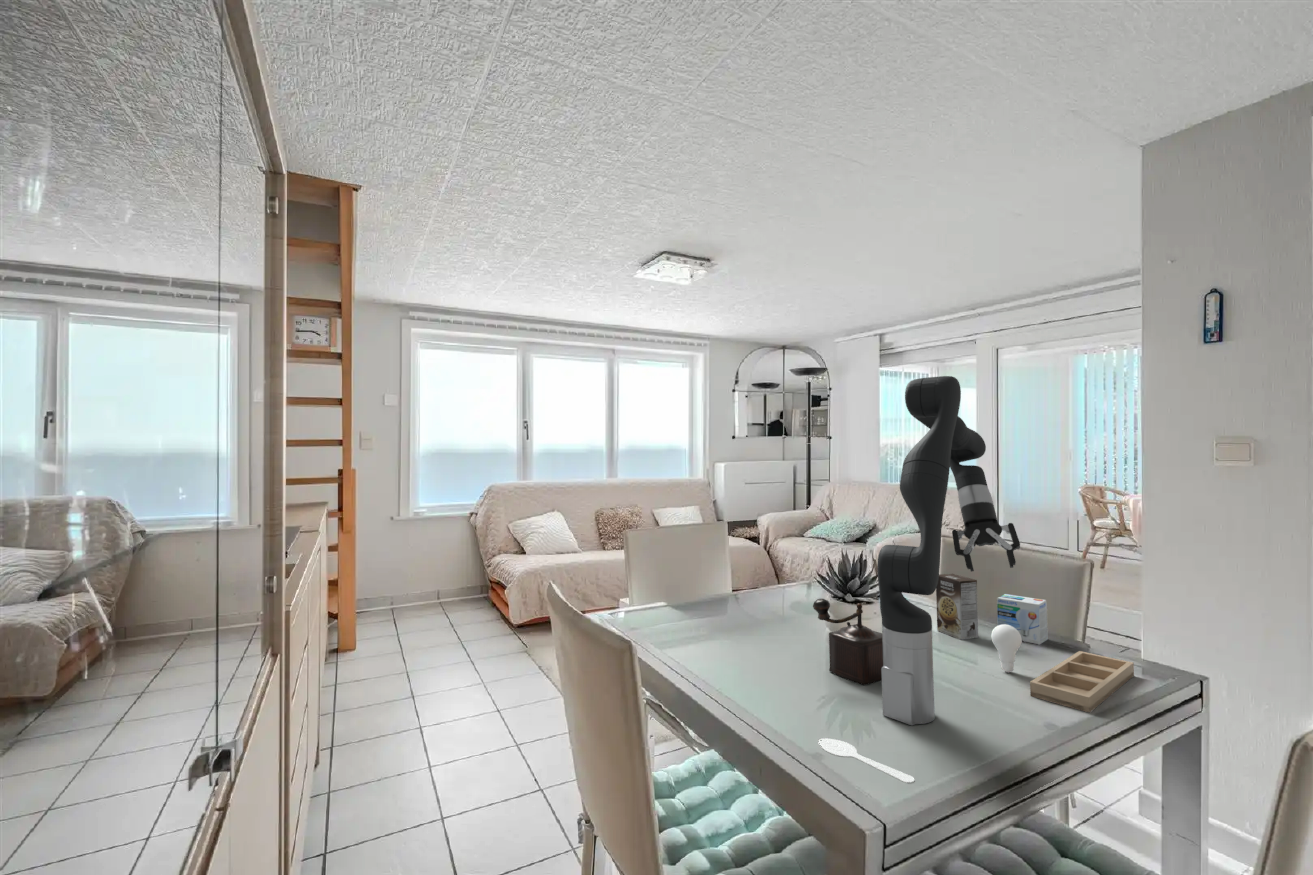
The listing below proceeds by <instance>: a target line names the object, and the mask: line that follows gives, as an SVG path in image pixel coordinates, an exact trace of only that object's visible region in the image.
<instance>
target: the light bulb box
mask: <svg viewBox="0 0 1313 875" xmlns="http://www.w3.org/2000/svg"><path fill="white" fill-rule="evenodd" d="M996 610H997V611H996V612H997V613H996V614H997V615H996V617H997V618H996V620H997V626H998V625H1002V624H1006V625H1010V626H1012V627H1014V628H1015V629H1017V631H1018V632H1019V633H1020V635H1021V639H1022V642H1025V643H1031V644H1035V645H1042V644H1043V643H1045V642H1047V641H1048V640H1049V636H1048V635H1049V634H1048V603H1047V599H1043V598H1034V597H1028V596H1021V595H1015V594H1008V593H1004V594H1003V595H1000V596H999V597H996Z"/></svg>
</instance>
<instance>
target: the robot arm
mask: <svg viewBox="0 0 1313 875" xmlns="http://www.w3.org/2000/svg"><path fill="white" fill-rule="evenodd" d="M961 392H962V388H961V385H960V382H959V379H958V378H956V377H955V376H952V375H941V376H931V377H921V378H915V379H912V380H910V381H909V382H908V383H907V385H906V386H905V392H904V401H905V406H906V408H907V412H908V413H909V414H910V415H911V416H912V417H913V418H914V419H915V420H917V421H919V422H920V423H921V424H923V426H926V427H927V428H928V429H929V430H928V431H927V433H925V435H924V436H923V437H921V439H920V440H918V442H917V443H916V444H915V445H914V446H913V447H912V448H911V449H910V450H909V451H908V453H907V454H906V456H905V458H904V460H903V463H902V468H901V475H900V480H899V481H900V482H899V491H900V493H901V494H900V495H901V497H902V498H903V501H904V503H905V504H906V506H907V508H908V510H909V511H910V512H911V514H912V516H913V518H914V519H915V523H916V524H917V526H918V529H919V533H920V543H919V546H914V545H912V546H911V545H901V544H900V545H898V544H885V545H883V546H882V547H881V549H880V550H879V552H878V556H877V565H876V567H877V571H876V572H877V581H878V582H877V583H878V592H879V608H880V609H879V610H880V616H881V631H882V632H881V633H882V642H883V667H882V668H881V672H882V680H881V698H882V699H881V700H882V701H881V702H882V703H881V704H882V716H885V717H887V718H890V719H893V720H896V721H898V722H901V723H903V724H906V725H909V726H914V725H922V724H929V723H931V722H933V721H934V720H935V718H936V715H935V714H936V713H935V712H936V711H935V710H936V708H935V681H934V680H935V679H934V655H933V654H934V650H933V644H934V643H933V620H932V616H931V614H930V613H929V612H928V611H926V610H925V609H923V608H921V607H919V606H917V605H915V604H913V603H912V602H911V601H909V600H908V598H906V597H905V596H904V594H911V595H919V596H920V595H921V596H931V595H933V594H934V593H935V592H936V587H937V584H938V579H939V575H940V567H941V566H940V565H941V564H940V563H941V544H942V528H943V526H942V525H943V519H944V518H943V517H944V510H945V503H946V497H947V493H948V486H949V476H950V470H951V473H952V475H953V477H954V481H955V486H956V489H957V494H958V496H957V498H958V504H959V508H960V513H961V516H962V520H963V525H964V530H957V529H953V530H952V531H951V533H952V540H953V547H954V553H955V554H956V556H960V557H961V556H962V557H963V558H964V562H965V567H966V568H967V570H970V572H974V571H975V570H974V566H973V562H972V557H971V554H972V552H973V550H974V549H975V547H976V546H978V547H984V546H994V544H996V545H998V546H999V547H1000V548H1002V549H1003V550H1005V551H1006V552H1005V553H1006V557H1007V561H1008V564H1009V568H1010V569H1013V568H1014V566H1016V562H1017V561H1016V558H1015V555H1014V554H1015V553H1014V552H1015V551H1016V550H1020V549H1021V542H1020V539H1019V537H1018V534H1017V530H1016V528H1015V525H1014V523H1012V522H1009V523H1008V524H1005V525H1004V524H1003V525H1000V524H999V521H998V517H997V513H996V509H995V505H994V501H993V497H992V495H991V491H990V489H989V487H988V482H987V480H986V479H987V478H986V476H985V475H986V474H985V471H984V469H983V468H982V467H981V466H979V465H966V464H960V463H963V462H968V461H972V460H977V459H980V458H981V457H983V456H984V455H985V453H986V448H987V447H986V442H985V440H984V438H983V437H982V435H981V434H979V433H978V432H977V431H975V430H974V429H972V428H970V427H968V426H967V424H966V423H965V421H964V420H963V419H962V418H961V417H960V416H959V412H960V411H959V410H960V407H961V397H962V396H961V394H962V393H961ZM1003 531H1004V532H1005V534H1007V535H1010V538H1011V541H1012V543H1011V544H1010V543H1009V542H1008V541H1006V540H1005V539H1004V538H1003V537H1001V534H1002V533H1003ZM963 536H964V537H965V538H967V540H968V541H967V543H966V546H965V548H964V549H961V545H960V541H961V540H962V539H963ZM903 593H904V594H903Z"/></svg>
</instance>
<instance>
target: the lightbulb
mask: <svg viewBox="0 0 1313 875" xmlns="http://www.w3.org/2000/svg"><path fill="white" fill-rule="evenodd" d="M990 635H991V641H992V643H993V646H994V647H995V648H996V650H997V654H998V658H999V660H1000V669H1001V670H1003V671H1004V672H1005V673H1010V672H1013V671H1014V667H1015V665H1014V663H1015V661H1016V655H1017V652H1018V650H1019V649H1020V647H1021V645H1022V642H1023V641H1022V639H1021V635H1020V633H1019V632H1018V631H1017V629H1015V628H1014V627H1012V626H1010V625H1006V624H1002V625H998V624H997V626H995V627H993V629H992V631H991V634H990Z"/></svg>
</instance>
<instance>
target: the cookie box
mask: <svg viewBox="0 0 1313 875" xmlns="http://www.w3.org/2000/svg"><path fill="white" fill-rule="evenodd" d="M935 592H936V593H935V595H936V596H935V598H936V625H937V626H936V629H937V632H940V633H942V634H944V635H948V636H950V637H953V638H955V639H958V640H961V641H962V640H970V639H977V638H979V623H978V622H979V620H978V619H979V618H978V616H979V615H978V609H979V608H978V579H973V578H969V577H966V576H964V575H963V576H962V575H959V574H955V573H942V574H940V573H939V579H938V584H937V587H936V590H935Z"/></svg>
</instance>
